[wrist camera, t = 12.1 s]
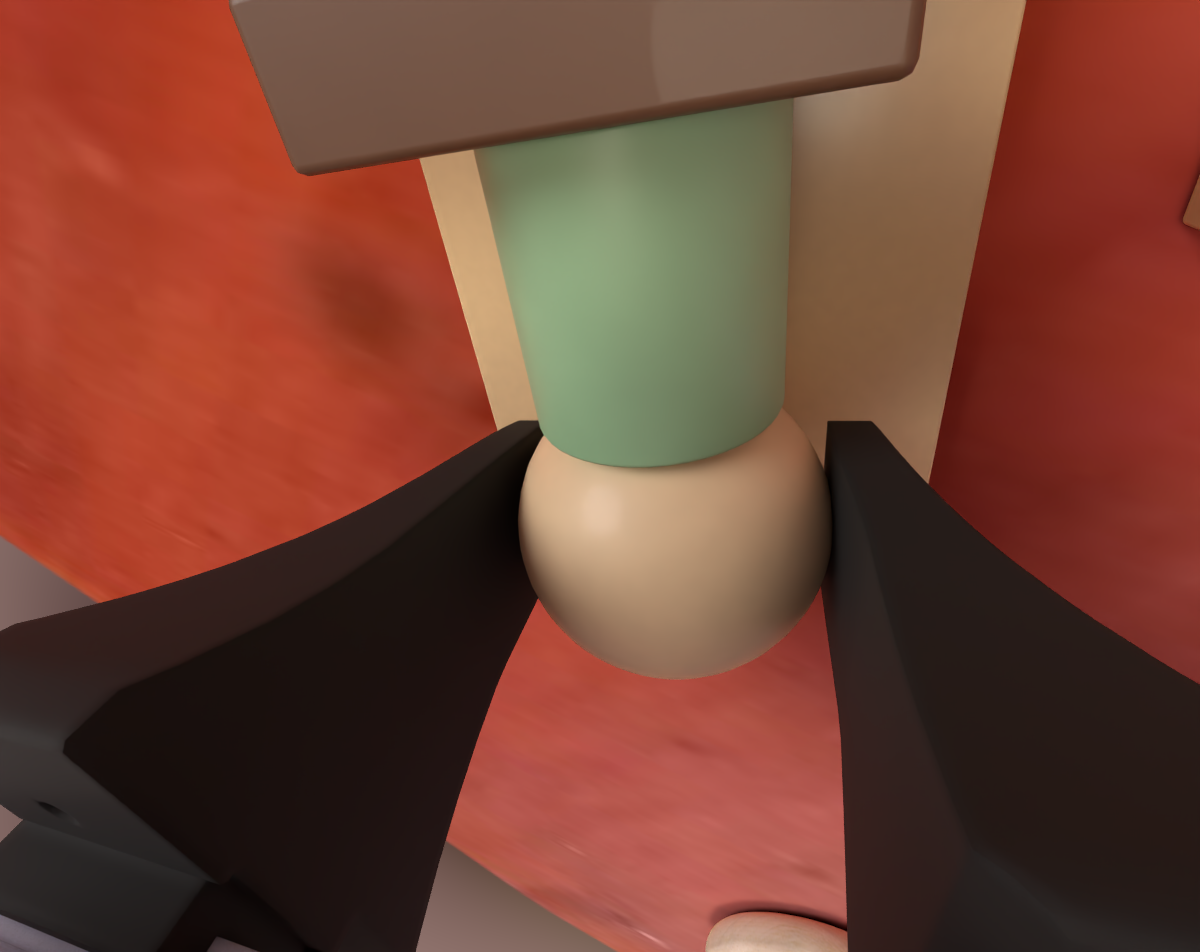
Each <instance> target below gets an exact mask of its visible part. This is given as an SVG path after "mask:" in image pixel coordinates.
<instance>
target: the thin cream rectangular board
mask: <svg viewBox="0 0 1200 952" xmlns="http://www.w3.org/2000/svg"><path fill="white" fill-rule="evenodd" d="M1025 5H1026V0H927V2H926V10H925V17H924V25H923V33H922V41H921V49H920V56H919V60H918V62H917V64H916V66H915V68H914V71H913V73H912V74H910V75H908V76H907V77H905V78H903V79H901V80H900V81H895V82H889V83H883V84H877V85H870V86H864V87H858V88H852V89H846V90H839V91H833V92H827V93H821V94H815V95H808V96H802V97H796V98H793V131H792V165H791V198H790V232H789V266H788V299H787V333H786V367H785V397H784V402H783V406H782V408H783V409H784V410H785V411H786V412H787V413H788V414H789V415H790V416H791V417H792V418H793V419H794V420H795V421H796V423H797V424H798V425H799V426H800V428H801V429H802V430H803V432H804V433H805V434H806V436H807V437H808V438H809V440H810V442H811V444H812V446H813V448H814V449H815V451H816V453H817V455H818V457H819V459H820V461H821V464H822V466H823V469H824V459H825V446H826V433H827V421H872V422H873V423H874V424H875V425H876V426H877V427H878V428H879V429H880V430H881V431H882V433H883V434H884V435H885V436H886V437H887V439H888V440H889V441H890V442H891V443H892V444H893V446H894V447H895V448H896V449H897V450H898V451H899V453H900V454H901V455H902V456H903V457H904V458H905V459H906V461H907V462H908V463H909V464H910V465H911V466H912V467H913V468H914V470H915V471H916V472H917V473H918V474H919V475H920V476H921V477H922V478H923V479H924V480H925V481H926V482H927V483H928V484H929V479H930V474H931V470H932V465H933V460H934V455H935V450H936V445H937V440H938V435H939V430H940V425H941V420H942V415H943V410H944V405H945V400H946V395H947V391H948V386H949V381H950V376H951V371H952V366H953V361H954V356H955V351H956V346H957V341H958V336H959V331H960V326H961V321H962V316H963V311H964V307H965V302H966V297H967V292H968V287H969V282H970V277H971V272H972V267H973V262H974V257H975V252H976V247H977V242H978V237H979V232H980V228H981V223H982V218H983V213H984V208H985V203H986V198H987V193H988V188H989V183H990V178H991V173H992V168H993V163H994V158H995V153H996V149H997V144H998V139H999V134H1000V129H1001V124H1002V119H1003V114H1004V109H1005V104H1006V99H1007V94H1008V89H1009V84H1010V79H1011V74H1012V69H1013V65H1014V60H1015V55H1016V50H1017V45H1018V40H1019V35H1020V30H1021V25H1022V20H1023V15H1024V10H1025ZM419 159H420V162H421V166H422V169H423V173H424V176H425V180H426V183H427V187H428V190H429V194H430V197H431V201H432V204H433V207H434V211H435V214H436V218H437V221H438V225H439V228H440V232H441V235H442V239H443V242H444V246H445V249H446V253H447V256H448V260H449V263H450V267H451V270H452V274H453V277H454V281H455V284H456V288H457V291H458V294H459V298H460V301H461V305H462V308H463V312H464V315H465V319H466V322H467V326H468V329H469V333H470V336H471V340H472V343H473V347H474V350H475V354H476V357H477V361H478V364H479V368H480V371H481V375H482V378H483V381H484V385H485V388H486V392H487V395H488V399H489V402H490V406H491V409H492V413H493V416H494V420H495V423H496V427H497V430H500V429H502V428H504V427H506V426H508V425H510V424H512V423H514V422H516V421H519V420H538V417H537V412H536V408H535V404H534V400H533V396H532V392H531V388H530V383H529V379H528V375H527V371H526V367H525V363H524V359H523V354H522V350H521V346H520V342H519V338H518V334H517V329H516V325H515V321H514V317H513V313H512V309H511V305H510V300H509V296H508V292H507V288H506V284H505V280H504V275H503V271H502V267H501V263H500V259H499V255H498V251H497V246H496V242H495V238H494V234H493V230H492V226H491V221H490V217H489V213H488V209H487V205H486V201H485V197H484V192H483V188H482V184H481V180H480V176H479V172H478V167H477V163H476V159H475V155H474V151H473V150H468V151H462V152H456V153H449V154H443V155H437V156H431V157H425V158H419Z"/></svg>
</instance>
